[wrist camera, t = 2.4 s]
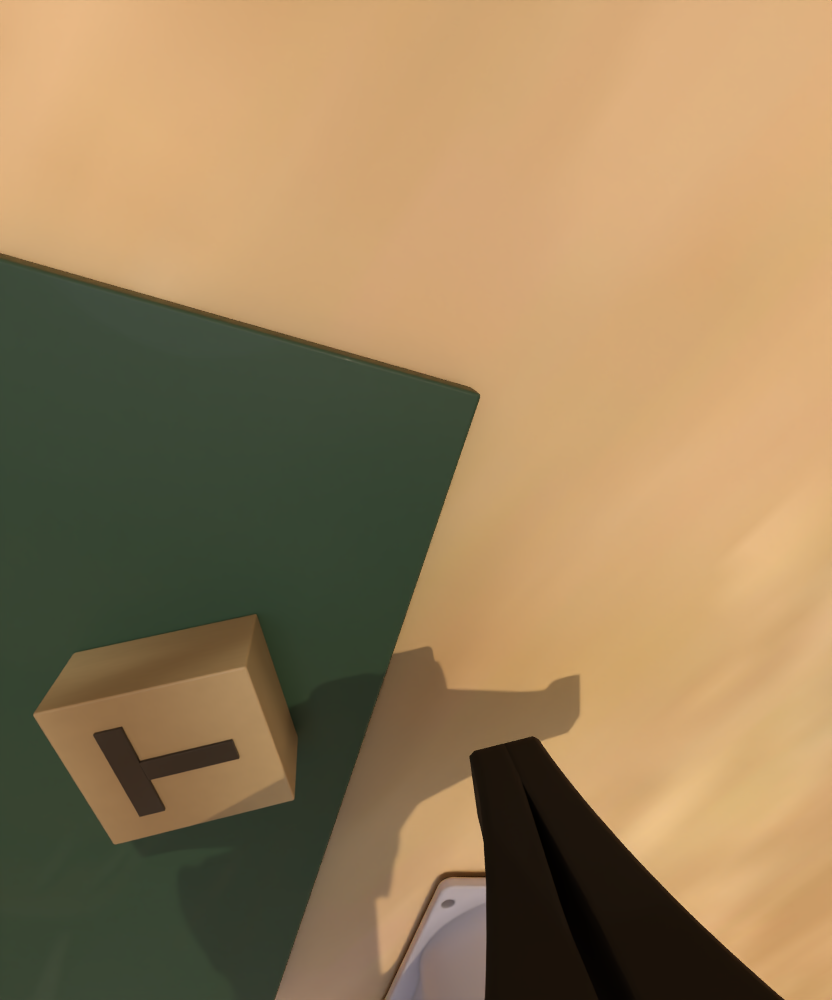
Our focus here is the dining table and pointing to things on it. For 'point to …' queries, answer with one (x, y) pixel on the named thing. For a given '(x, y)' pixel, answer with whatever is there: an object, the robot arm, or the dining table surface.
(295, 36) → the dining table surface
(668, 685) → the dining table surface
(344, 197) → the dining table surface
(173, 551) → the game board
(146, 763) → the letter tile
